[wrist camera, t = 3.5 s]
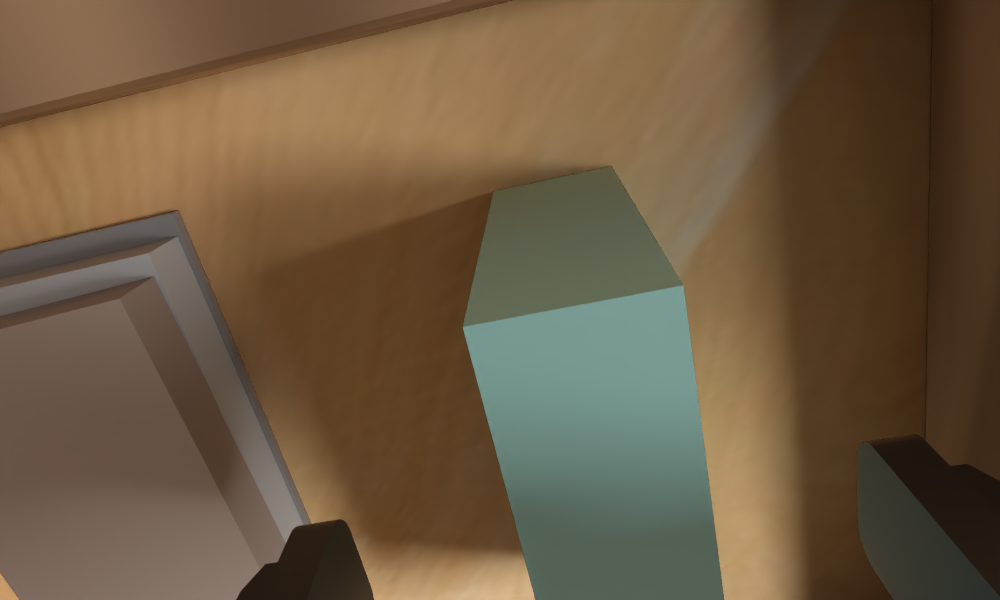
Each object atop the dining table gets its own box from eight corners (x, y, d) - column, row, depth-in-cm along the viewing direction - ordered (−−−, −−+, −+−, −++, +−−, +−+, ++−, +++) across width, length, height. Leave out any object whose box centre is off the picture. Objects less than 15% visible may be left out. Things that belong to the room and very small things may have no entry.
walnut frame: (1031, -231, 11) (1292, -367, 7) (980, 643, 18) (1095, 801, 14) (-183, 91, 14) (-447, 113, 10) (190, 736, 21) (118, 888, 17)
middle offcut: (177, 236, 14) (148, 253, 13) (340, 608, 18) (328, 645, 17) (-61, 292, 15) (-107, 312, 14) (145, 637, 19) (121, 675, 18)
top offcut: (153, 276, 13) (119, 298, 12) (328, 630, 17) (314, 672, 16) (-93, 340, 14) (-146, 366, 13) (122, 664, 18) (95, 706, 17)
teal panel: (610, 165, 14) (683, 285, 7) (671, 539, 17) (755, 843, 11) (493, 190, 14) (462, 327, 8) (576, 552, 18) (604, 856, 11)
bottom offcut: (198, 199, 15) (172, 212, 14) (358, 587, 20) (347, 621, 18) (-27, 253, 16) (-69, 269, 15) (173, 615, 20) (153, 649, 19)
